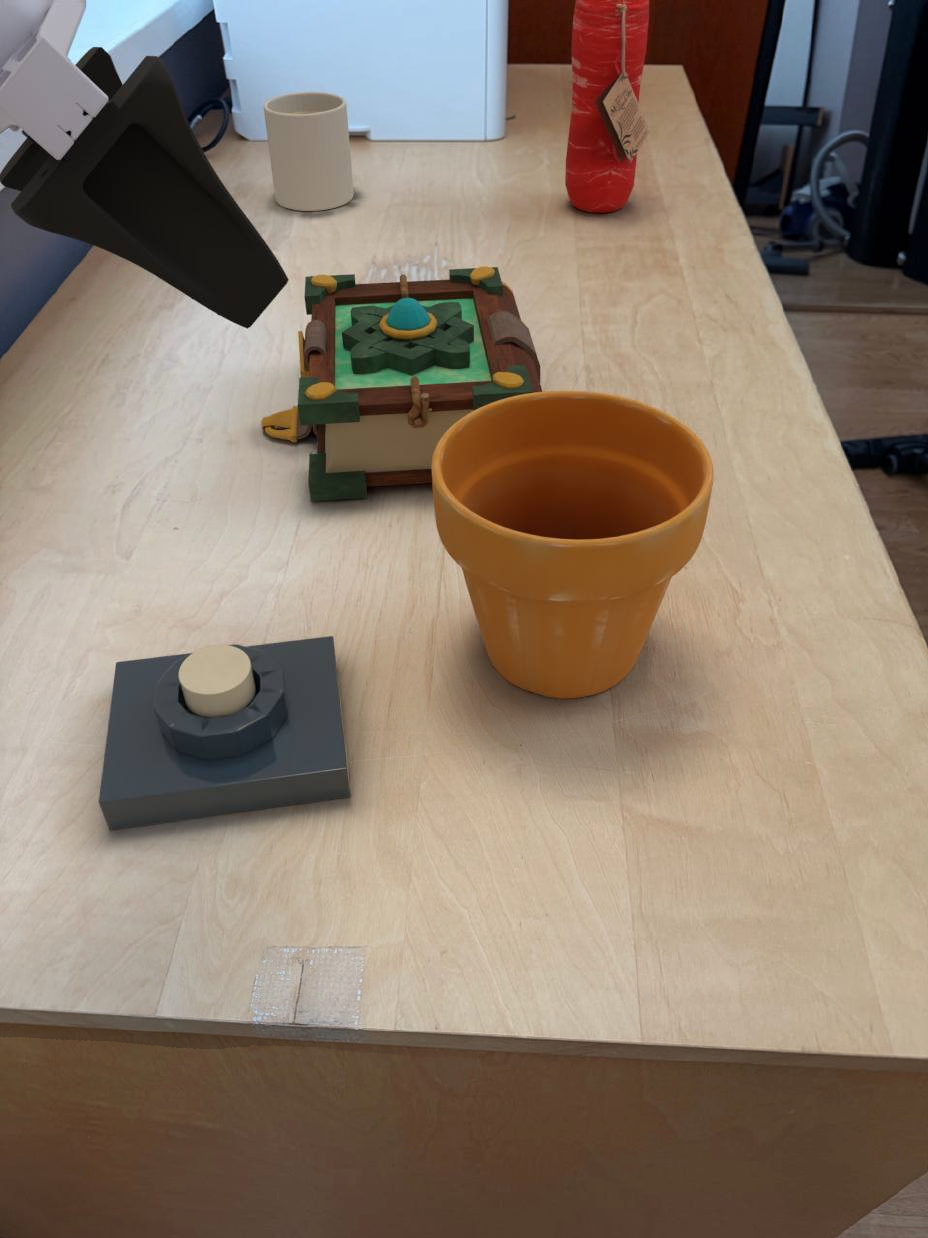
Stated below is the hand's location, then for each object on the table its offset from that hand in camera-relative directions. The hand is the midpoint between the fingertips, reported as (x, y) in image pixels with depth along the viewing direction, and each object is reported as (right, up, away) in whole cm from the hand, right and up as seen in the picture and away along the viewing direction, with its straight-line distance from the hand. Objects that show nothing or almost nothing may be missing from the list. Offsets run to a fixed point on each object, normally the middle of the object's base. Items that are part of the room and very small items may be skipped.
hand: (236, 280), depth 36 cm
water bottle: (+23, +33, +78) cm, 88 cm away
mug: (-8, +37, +83) cm, 91 cm away
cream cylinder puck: (-5, -15, +18) cm, 24 cm away
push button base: (-5, -18, +20) cm, 27 cm away
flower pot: (+14, -14, +25) cm, 32 cm away
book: (+3, +5, +47) cm, 47 cm away
